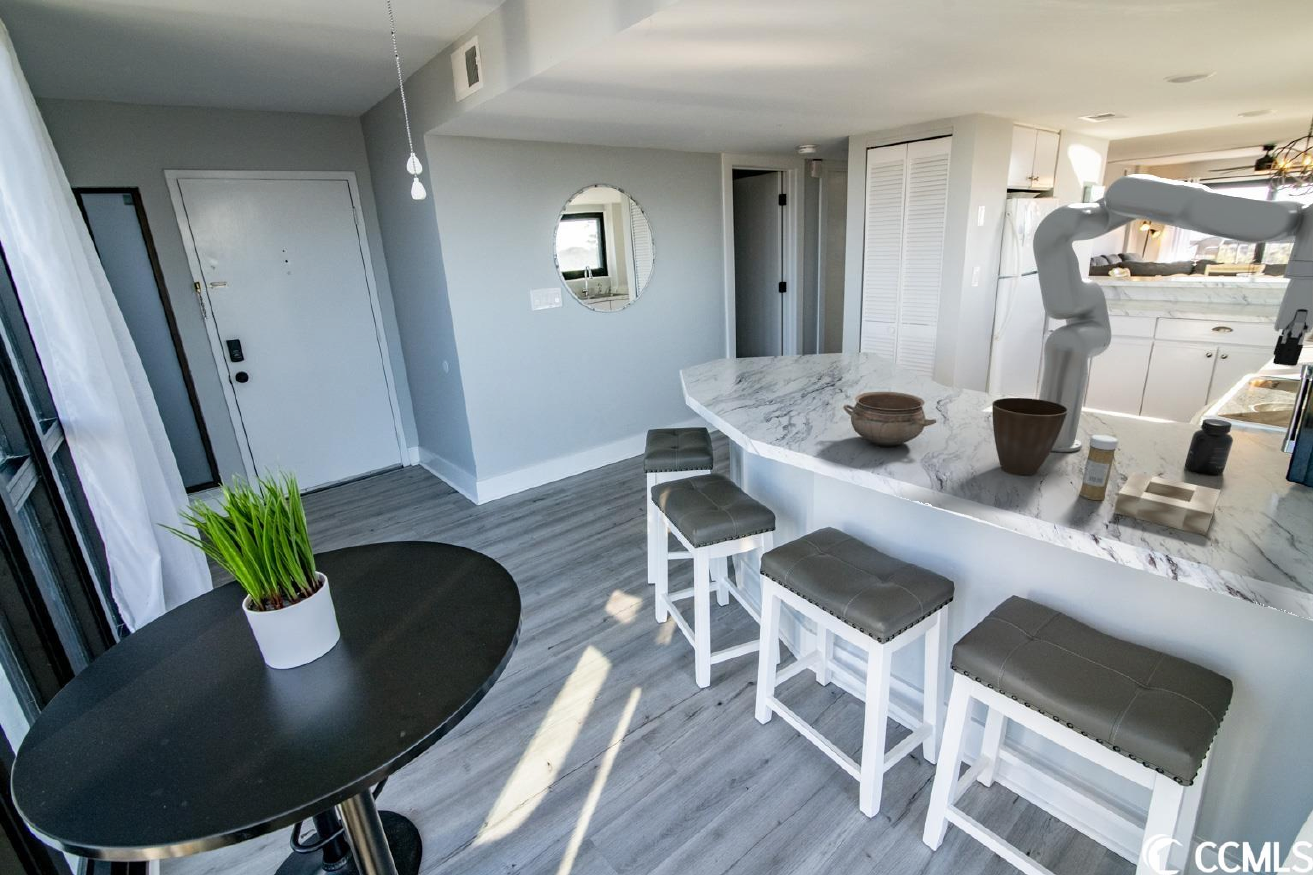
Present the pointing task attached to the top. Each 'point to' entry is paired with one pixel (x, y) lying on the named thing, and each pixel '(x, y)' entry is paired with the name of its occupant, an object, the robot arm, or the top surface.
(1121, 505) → the socket block
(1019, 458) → the plant pot
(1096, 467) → the sprinkles bottle
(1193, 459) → the supplement bottle
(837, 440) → the top surface
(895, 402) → the cooking pot
